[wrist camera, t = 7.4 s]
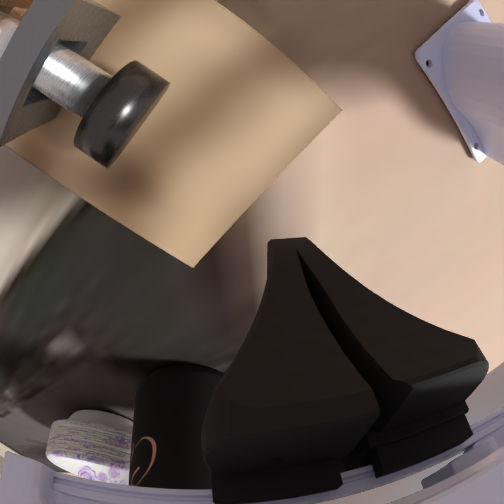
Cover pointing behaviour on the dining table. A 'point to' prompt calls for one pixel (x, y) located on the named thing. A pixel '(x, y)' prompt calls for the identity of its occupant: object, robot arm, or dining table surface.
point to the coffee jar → (171, 428)
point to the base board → (189, 125)
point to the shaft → (96, 96)
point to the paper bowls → (92, 445)
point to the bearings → (43, 55)
